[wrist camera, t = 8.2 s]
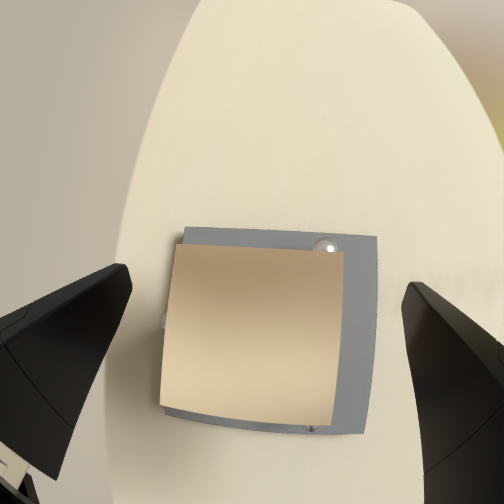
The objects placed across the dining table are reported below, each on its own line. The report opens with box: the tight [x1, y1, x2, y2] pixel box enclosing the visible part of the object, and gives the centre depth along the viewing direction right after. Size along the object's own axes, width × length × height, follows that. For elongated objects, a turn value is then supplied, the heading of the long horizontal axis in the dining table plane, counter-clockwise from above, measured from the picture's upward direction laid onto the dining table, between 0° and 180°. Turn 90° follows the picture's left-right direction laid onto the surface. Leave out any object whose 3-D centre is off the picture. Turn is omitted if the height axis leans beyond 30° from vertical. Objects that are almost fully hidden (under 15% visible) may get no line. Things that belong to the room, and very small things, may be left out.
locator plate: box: [161, 227, 378, 435], centre depth 15 cm, size 12×12×4 cm
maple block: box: [160, 244, 344, 426], centre depth 11 cm, size 4×4×10 cm
